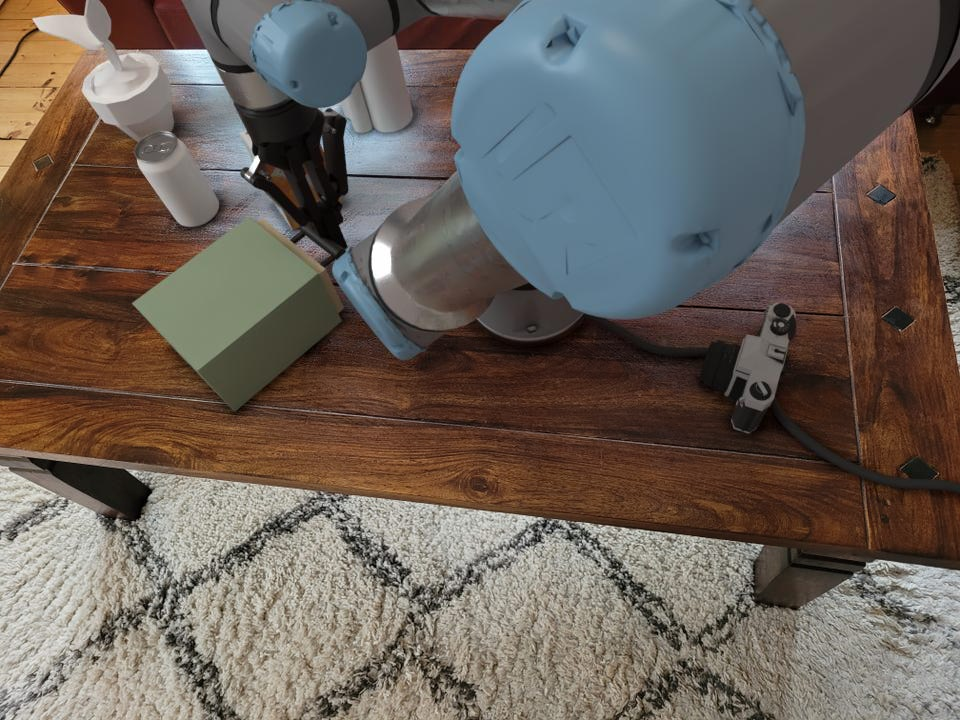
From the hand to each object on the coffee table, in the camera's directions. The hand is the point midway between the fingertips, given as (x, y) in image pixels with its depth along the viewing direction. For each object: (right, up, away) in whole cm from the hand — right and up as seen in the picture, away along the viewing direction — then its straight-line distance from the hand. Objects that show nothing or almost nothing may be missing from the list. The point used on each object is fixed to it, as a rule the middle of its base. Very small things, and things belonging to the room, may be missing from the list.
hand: (337, 245), depth 87 cm
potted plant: (-33, +21, +21) cm, 45 cm away
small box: (-6, +7, +9) cm, 13 cm away
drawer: (-7, -8, -1) cm, 11 cm away
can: (-22, +6, +11) cm, 25 cm away
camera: (+46, -17, -11) cm, 50 cm away
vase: (+2, +22, +17) cm, 28 cm away
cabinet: (-10, -11, -2) cm, 15 cm away
